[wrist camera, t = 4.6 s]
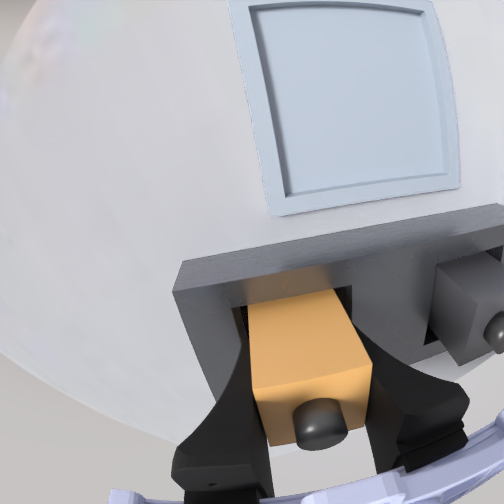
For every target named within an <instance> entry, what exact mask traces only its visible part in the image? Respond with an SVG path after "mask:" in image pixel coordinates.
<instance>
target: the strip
mask: <svg viewBox="0 0 504 504" xmlns="http://www.w3.org/2000/svg"><path fill="white" fill-rule="evenodd" d="M481 251H485V252H487V253H488V254H490V255H491V256H492V257H494V258H495V259H497V260H498V261H499V262H501V263H502V264H504V206H502V205H500V204H497V203H496V204H491V205H485V206H479V207H474V208H468V209H463V210H457V211H452V212H446V213H441V214H435V215H430V216H424V217H419V218H413V219H408V220H402V221H397V222H391V223H386V224H380V225H375V226H369V227H364V228H358V229H353V230H348V231H342V232H337V233H331V234H326V235H321V236H315V237H310V238H304V239H299V240H294V241H288V242H283V243H278V244H272V245H267V246H261V247H256V248H251V249H245V250H240V251H235V252H230V253H224V254H219V255H214V256H208V257H203V258H198V259H192V260H187V261H183V262H182V265H181V268H180V270H179V273H178V276H177V279H176V281H175V284H174V287H173V290H172V293H173V296H174V299H175V301H176V304H177V307H178V310H179V312H180V315H181V318H182V320H183V323H184V326H185V328H186V331H187V334H188V336H189V339H190V341H191V344H192V346H193V349H194V351H195V354H196V356H197V359H198V361H199V363H200V366H201V368H202V371H203V373H204V375H205V378H206V380H207V382H208V385H209V387H210V389H211V391H212V394H213V396H214V398H215V400H216V403H217V401H218V399H219V398H220V396H221V394H222V393H223V391H224V389H225V387H226V385H227V383H228V381H229V379H230V377H231V374H232V372H233V369H234V367H235V364H236V361H237V358H238V355H239V352H240V348H241V344H242V343H244V342H248V338H247V334H246V330H245V326H244V322H243V318H242V314H241V310H240V306H246V305H251V304H257V303H263V302H268V301H273V300H279V299H284V298H289V297H294V296H299V295H305V294H309V293H314V292H319V291H324V290H329V289H334V288H335V290H336V295H337V297H338V299H339V301H340V302H341V304H342V306H343V308H344V310H345V312H346V314H347V315H348V317H349V319H350V321H351V322H352V323H353V324H354V325H355V326H357V327H358V328H359V329H360V330H361V331H362V332H363V333H364V334H365V335H366V336H367V337H369V338H370V339H371V340H372V341H373V342H375V343H376V344H377V345H378V346H379V347H381V348H382V349H383V350H385V351H386V352H387V353H389V354H390V355H392V356H393V357H395V358H396V359H398V360H399V361H401V362H403V363H404V364H406V365H410V364H413V363H416V362H419V361H421V360H424V359H427V358H430V357H432V356H435V355H437V354H440V353H443V352H445V351H447V349H446V348H445V347H444V345H443V344H442V343H441V341H440V340H439V339H438V337H437V336H436V335H435V334H434V332H433V331H432V330H431V328H430V327H429V326H428V325H427V324H428V319H429V313H430V307H431V301H432V294H433V287H434V280H435V271H436V264H438V263H442V262H446V261H449V260H453V259H457V258H460V257H464V256H467V255H471V254H474V253H478V252H481Z"/></svg>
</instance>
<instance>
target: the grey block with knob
mask: <svg viewBox="0 0 504 504" xmlns="http://www.w3.org/2000/svg"><path fill="white" fill-rule="evenodd" d="M427 325H428V326H429V327H430V328H431V330H432V331H433V332H434V334H435V335H436V336H437V337H438V339H439V340H440V341H441V343H442V344H443V345H444V347H445V348H446V349H447V351H448V352H449V353H450V355H451V356H452V357H453V359H454V360H455V362H456V363H457V364H458V366H461V365H464V364H466V363H468V362H470V361H472V360H474V359H476V358H478V357H481V356H483V355H485V354H487V353H489V352H490V351H492V350H494V351H495V352H496V353H497V354H501V353H503V352H504V264H502V263H501V262H499V261H498V260H497V259H495V258H494V257H492V256H491V255H490V254H488V253H487V252H485V251H481V252H478V253H474V254H471V255H467V256H464V257H460V258H457V259H453V260H449V261H446V262H442V263H438V264H436V271H435V280H434V287H433V294H432V301H431V307H430V313H429V319H428V324H427Z"/></svg>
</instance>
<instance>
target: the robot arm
mask: <svg viewBox="0 0 504 504" xmlns="http://www.w3.org/2000/svg"><path fill="white" fill-rule="evenodd" d="M351 323H352V322H351ZM352 325H353V327H354V329H355V331H356V333H357V334H358V336H359V338H360V340H361V342H362V344H363V346H364V348H365V350H366V352H367V354H368V356H369V358H370V360H371V362H372V373H371V382H370V390H369V398H368V405H367V411H366V418H365V426H366V429H367V433H368V436H369V440H370V445H371V449H372V453H373V457H374V462H375V467H376V471H377V475H375V476H372V477H368V478H365V479H362V480H358V481H355V482H351V483H347V484H343V485H339V486H335V487H331V488H326V489H323V490H317V491H312V492H307V493H302V494H296V495H290V496H282V497H275V495H274V489H273V482H272V475H271V468H270V460H269V452H268V444H267V436H266V433H265V429H264V426H263V423H262V420H261V416H260V413H259V410H258V406H257V403H256V400H255V396H254V393H253V390H252V374H251V357H250V342H244V343H242V344H241V348H240V352H239V355H238V358H237V361H236V364H235V367H234V369H233V372H232V374H231V377H230V379H229V381H228V383H227V385H226V387H225V389H224V391H223V393H222V394H221V396H220V398H219V399H218V401H217V403H216V404H215V406H214V407H213V409H212V410H211V411H210V413H209V414H208V415H207V417H206V418H205V419H204V421H203V422H202V423H201V424H200V425H199V426H198V427H197V428H196V430H195V431H194V432H193V433H192V434H191V435H190V436H189V437H188V438H186V439H185V440H184V441H183V442H182V443H181V444H180V445H179V446H178V447H177V449H176V451H175V454H174V458H173V462H172V471H171V477H172V479H173V480H174V481H175V482H176V483H177V484H178V485H179V486H180V487H181V488H182V489H184V490H185V494H184V495H185V496H184V501H165V500H164V501H163V500H152V499H145V498H144V497H143V496H142V495H140V494H139V493H136V492H132V491H124V490H118V489H111V493H110V498H109V503H108V504H450V503H452V502H454V501H455V500H457V499H459V498H461V497H462V496H464V495H466V494H467V493H469V492H470V491H472V490H474V489H475V488H477V487H478V486H480V485H482V484H483V483H485V482H486V481H488V480H489V479H490V478H492V477H493V476H495V475H496V474H498V473H499V472H501V471H502V470H503V469H504V409H503V410H502V411H501V412H500V413H499V415H498V416H497V418H496V419H495V421H494V422H492V423H490V424H489V425H487V426H485V427H484V428H482V429H480V430H478V431H477V432H475V433H473V434H471V435H470V436H468V437H467V436H466V434H465V432H464V431H463V429H462V428H463V427H464V423H463V422H462V420H461V419H462V417H463V416H464V414H465V412H466V410H467V408H468V406H469V402H470V399H469V397H468V396H467V394H466V393H465V391H464V390H463V388H462V387H461V386H460V385H459V384H458V383H454V382H450V381H446V380H442V379H439V378H436V377H433V376H430V375H427V374H425V373H423V372H420V371H418V370H416V369H414V368H412V367H410V366H408V365H406V364H404V363H403V362H401V361H399V360H398V359H396V358H395V357H393V356H392V355H390V354H389V353H387V352H386V351H385V350H383V349H382V348H381V347H379V346H378V345H377V344H376V343H375V342H373V341H372V340H371V339H370V338H369V337H367V336H366V335H365V334H364V333H363V332H362V331H361V330H360V329H359V328H358V327H357V326H355V325H354V324H353V323H352Z"/></svg>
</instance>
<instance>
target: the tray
mask: <svg viewBox="0 0 504 504" xmlns="http://www.w3.org/2000/svg"><path fill="white" fill-rule="evenodd" d="M227 5H228V9H229V14H230V19H231V23H232V28H233V32H234V37H235V42H236V47H237V51H238V56H239V61H240V66H241V71H242V75H243V80H244V85H245V90H246V95H247V100H248V105H249V111H250V116H251V121H252V126H253V131H254V137H255V142H256V147H257V152H258V158H259V163H260V169H261V174H262V180H263V185H264V191H265V196H266V202H267V208H268V213H269V216H270V218H273V217H279V216H284V215H290V214H296V213H301V212H307V211H313V210H319V209H324V208H330V207H336V206H342V205H348V204H354V203H361V202H367V201H373V200H380V199H386V198H393V197H399V196H406V195H413V194H420V193H427V192H434V191H441V190H448V189H456V188H460V164H459V141H458V128H457V117H456V108H455V100H454V93H453V86H452V80H451V74H450V69H449V64H448V59H447V54H446V49H445V45H444V41H443V37H442V33H441V29H440V25H439V22H438V18H437V15H436V12H435V8H434V5H433V2H432V1H430V0H227Z"/></svg>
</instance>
